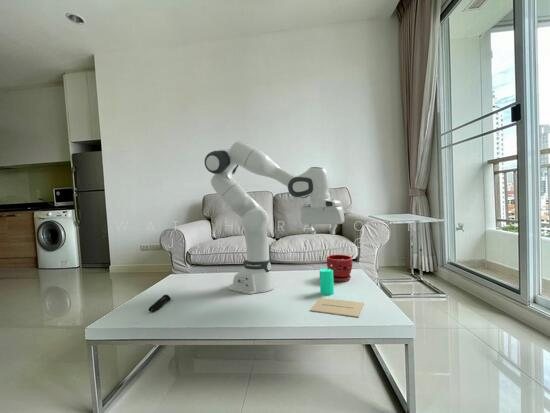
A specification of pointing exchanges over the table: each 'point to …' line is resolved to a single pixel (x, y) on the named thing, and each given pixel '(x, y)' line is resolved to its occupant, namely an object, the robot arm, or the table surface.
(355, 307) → the tan flat wooden board
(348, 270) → the plant pot
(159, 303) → the electric trimmer
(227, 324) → the table surface
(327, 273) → the candle
